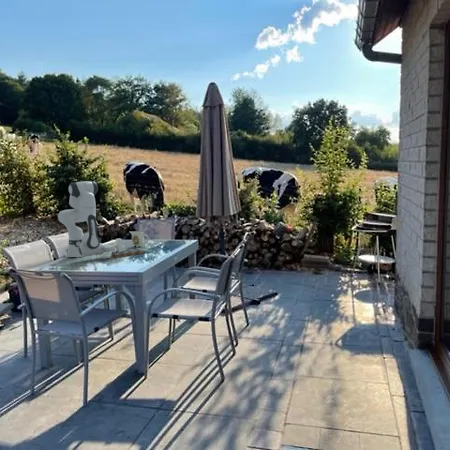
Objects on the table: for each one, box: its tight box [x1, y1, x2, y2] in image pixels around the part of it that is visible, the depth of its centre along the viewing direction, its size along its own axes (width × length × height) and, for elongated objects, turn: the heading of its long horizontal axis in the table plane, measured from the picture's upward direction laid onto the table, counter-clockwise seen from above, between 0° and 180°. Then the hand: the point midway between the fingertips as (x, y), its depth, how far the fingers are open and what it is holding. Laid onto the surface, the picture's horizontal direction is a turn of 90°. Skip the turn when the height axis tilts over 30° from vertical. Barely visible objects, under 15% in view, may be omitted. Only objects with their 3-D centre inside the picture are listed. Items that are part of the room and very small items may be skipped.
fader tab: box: [115, 238, 124, 253], centre depth 379 cm, size 4×6×12 cm, turn 34°
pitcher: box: [129, 230, 149, 248], centre depth 423 cm, size 11×18×14 cm, turn 79°
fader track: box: [110, 247, 145, 259], centre depth 383 cm, size 25×10×4 cm, turn 124°
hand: (116, 246), depth 377 cm, fingers closed
